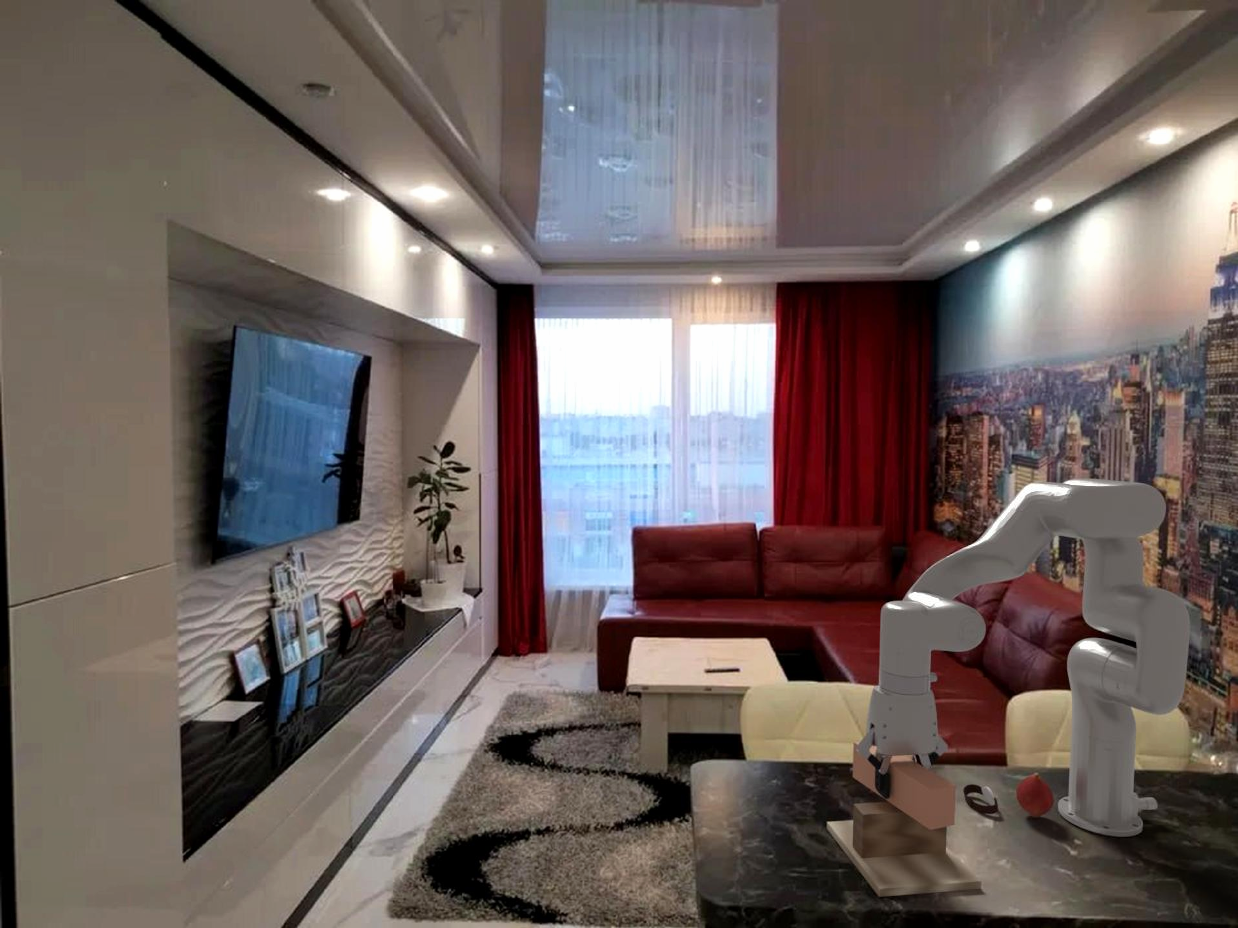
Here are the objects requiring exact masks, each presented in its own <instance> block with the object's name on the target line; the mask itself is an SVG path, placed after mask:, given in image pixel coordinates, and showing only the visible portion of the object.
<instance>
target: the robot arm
mask: <svg viewBox="0 0 1238 928" xmlns="http://www.w3.org/2000/svg"><path fill="white" fill-rule="evenodd" d="M1166 504H1167V503H1166V500H1165V497H1164V496H1163V495H1162V493H1161V491H1159V490H1158V489H1157V488H1156V487H1153V486H1152V485H1150V484H1147V483H1144V482H1143V483H1142V482H1137V481H1121V480H1111V479H1102V478H1086V477H1085V478H1083V477H1081V478H1080V477H1079V478H1078V477H1077V478H1071V479H1068V480H1065V481H1064V482H1054V481H1034V482H1030V483H1028V484H1027V485H1025V486H1023V487H1022V488H1021V489H1020V490H1019V491H1018V492H1017V493H1016V495H1014V497H1013V498H1012V499H1011V500H1010V501H1009V503H1008V504H1007V505H1006V506H1005V508H1004V509H1003V510H1002V511H1001V512H1000V513H999V515H998V516H997V518H996V519H995V520H994V521H992V523H991V525H989V527H987V529H986V530H985V531H984V532H983V534H982V535H981V536H979V538H978V539H977V540H976V541H975V542H973V543H972V544H970V545H967V546H965V547H962V548H961V549H959V550H957V551H955V552H953V553H952V554H951V553H950V554H949V555H947V556H945V557H944V558H941V559H940V560H938V561H937V562H935V563H934V564H932V565H931V566H930V567H929V568H927V569H926V570H925V571H924V572H923V573H922V574H921V575H920V576H919V578H918V579H917V580H916V581H915V582H914V584H913V585H912V586H911V587H910V588H909V590H908V591H907V592H906V594H905V596H904V597H903V599H902V600H893V601H889V602H886V603H885V604H884V605H883V606H882V607H881V610H880V629H879V630H880V631H879V667H878V668H879V669H878V685H875V686H873V688H872V692H871V695H870V699H869V703H868V709H867V710H868V711H867V719H866V727H865V729H866V730H865V736H864V737H863V738H862V739H861V740H860V741H861V742H860V743H859V744H858V745H857V747H856V750H857V752H859V753H860V754H861V755H862V756H863V757H864V758H865V759H867V760H868V761H869V762H870V763H871V764H872V765H873V766H874V767H875V788H876V790H877V791H878V792H879V793H880V794H881V795H882V796H883V797H882V799H884V800H885V799H889V798H890V774H889V773H888V772H887V770H888V767H889V764H890V761H891V758H892V756H902V755H904V756H913V758H914V761H915V762H916V763H918V764H920V765H922V766H923V767H925V768H927V769H928V770H930V771H932V766H933V765H934V764H935V763H936V762H937V761H938V759H939V758H940V756H942V755H943V754H944V753H945V752H946V751H947V750H948V749H949V746H948V744H947V743H946V742H945V740H944V739H943V738H942V736H941V735H940V734H939V733H938V718H937V716H938V714H937V708H936V701H935V695H934V692H933V690H932V689H931V687H932V686H931V683H933V682H937V681H938V676H937V673H935V672H931V655H932V653H931V652H932V651H947V652H956V653H957V652H958V653H959V652H960V653H961V652H967V651H970V650H973V649H974V648H976V647H978V645H980V644H981V643H982V641H983V640H984V638H985V635H986V630H987V628H986V627H987V626H986V622H985V620H984V618H983V616H982V615H981V613H980V612H979V611H978V610H977V609H975V608H973V607H971V606H970V605H967V604H965V603H963V602H959V601H956V600H954V599H955V598H956V597H958V596H959V595H960V594H962V593H964V592H965V591H967V590H970V589H973V588H976V587H978V586H983V585H987V584H994V583H1000V582H1005V581H1009V580H1015V579H1017V578H1020V577H1022V576H1023V575H1025V574H1026V573H1027V571H1028V570H1029V569H1030V567H1031V566H1032V565H1033V563H1034V562H1035V561H1036V560H1037V558H1038V557H1039V556H1040V555H1041V554H1042V553H1043V551H1045V549H1046V548H1047V547H1048V545H1050V543H1051V541H1053V540H1054V538H1055V537H1057V536H1058V537H1059V536H1061V537H1067V538H1073V539H1079V540H1081V541H1082V543H1083V546H1084V555H1085V556H1084V557H1085V559H1084V563H1085V564H1084V576H1083V588H1082V589H1083V591H1082V603H1081V604H1082V605H1081V610H1082V611H1081V612H1082V617H1083V619H1084V621H1085V623H1086V624H1087V625H1088V626H1090V627H1092V628H1093V629H1095V630H1096V631H1099V632H1100V631H1101V632H1102V633H1105V634H1108V635H1112V636H1115V637H1119V638H1122V639H1126V640H1129V641H1132V642H1135V643H1136V648H1135V647H1134V646H1130V645H1126V644H1124V643H1119V642H1117V641H1114V640H1110V639H1105V638H1099V637H1089V638H1087V637H1086V638H1083V639H1081V640H1079V641H1077V642H1076V643H1074V645H1073V646H1072V647H1071V649H1070V650H1069V653H1068V655H1067V661H1066V666H1067V667H1066V669H1067V675H1068V676H1067V677H1068V681H1069V687H1070V692H1071V706H1072V707H1071V729H1070V748H1069V749H1070V750H1069V751H1070V752H1069V753H1070V755H1069V756H1070V757H1069V774H1068V775H1069V776H1068V777H1069V778H1068V795H1067V796H1064V797H1062V798H1061V799H1059V801H1058V804H1057V810H1058V813H1059V814H1060V815H1061V816H1062V817H1063V819H1065V820H1066V821H1068V822H1070V823H1071V824H1073V825H1074V826H1077V827H1079V828H1080V829H1084V830H1087V831H1089V832H1092V833H1095V834H1099V835H1103V836H1110V837H1118V838H1119V837H1120V838H1125V837H1135V836H1136V835H1137V836H1138V835H1139V834H1140V833H1142V831H1143V827H1144V823H1143V819H1142V818H1141V817H1140V816H1139V815H1138V814H1139V813H1141V812H1142V811H1143V810H1146V811H1147V810H1148V811H1149V810H1157V808H1158V801H1157V800H1156V798H1154V797H1141V798H1139V795H1138V794H1137V792H1134V782H1135V779H1134V778H1135V763H1136V762H1135V760H1136V741H1137V723H1136V718H1135V715H1134V711H1133V709H1132V708H1134V709H1136V710H1138V711H1141V712H1144V713H1146V714H1147V713H1148V714H1149V715H1150V714H1152V715H1155V716H1157V715H1159V716H1160V715H1161V716H1163V715H1167V714H1170V713H1171V712H1173V711H1174V710H1176V708H1177V707H1178V706H1179V705H1180V703H1181V701H1182V698H1183V696H1184V692H1185V687H1186V682H1187V681H1186V680H1187V669H1188V657H1189V648H1190V635H1191V619H1190V614H1189V612H1188V609H1187V606H1186V604H1185V602H1184V601H1183V600H1182V599H1181V598H1180V597H1179V595H1177V594H1175V593H1173V592H1172V591H1170V590H1167V589H1164V588H1160V587H1155V586H1152V585H1146V584H1145V583H1144V559H1145V558H1144V556H1145V555H1144V549H1143V546H1142V543H1141V540H1140V538H1139V537H1143V536H1146V535H1149V534H1151V533H1152V532H1154V531H1156V530H1157V529H1158V528H1159V527H1160V526H1161V524H1162V523H1163V522H1164V519H1165V516H1166V511H1167V505H1166ZM872 746H877V749H876V752H875V755H873V754H872V753H870V751H869V750H870V748H871V747H872Z"/></svg>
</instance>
